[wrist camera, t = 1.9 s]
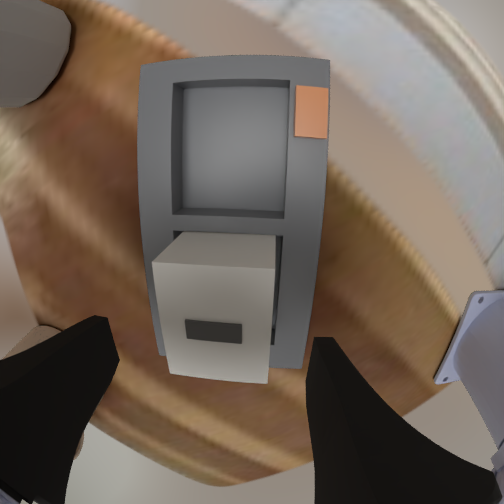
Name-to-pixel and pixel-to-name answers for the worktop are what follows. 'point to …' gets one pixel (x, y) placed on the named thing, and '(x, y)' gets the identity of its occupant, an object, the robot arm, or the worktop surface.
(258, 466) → the worktop surface
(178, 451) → the worktop surface
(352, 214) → the worktop surface
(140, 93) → the grey divided tray
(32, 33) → the water bottle
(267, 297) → the block
